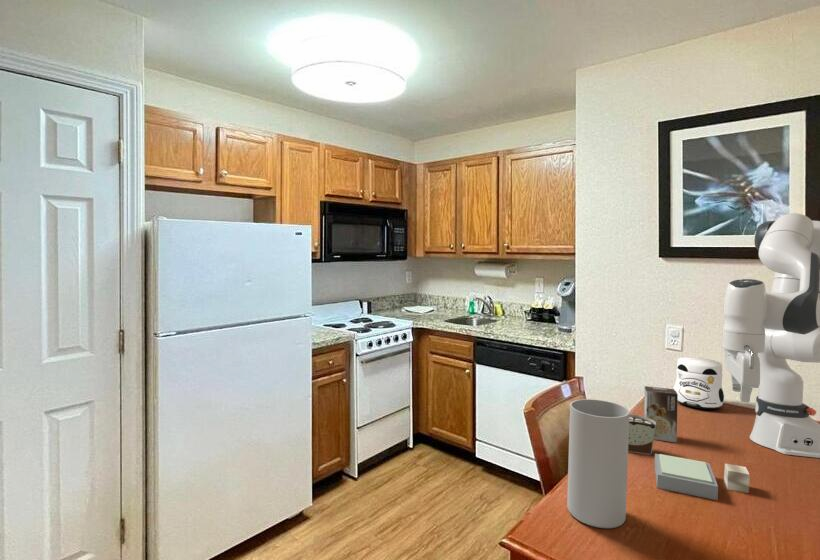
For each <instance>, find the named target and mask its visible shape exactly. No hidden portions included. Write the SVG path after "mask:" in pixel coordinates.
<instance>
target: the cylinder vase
mask: <svg viewBox="0 0 820 560" xmlns="http://www.w3.org/2000/svg"><path fill="white" fill-rule="evenodd" d="M629 414H630V410H629V409H628V408H627V407H626V406H625V405H624V406H623V405H621V404H619V403H616V402H612V401H608V400H602V399H596V398H595V399H594V398H591V399H590V398H589V399H588V398H584V399H581V398H580V399H576V400H572V401H571V402H570V404H569V430H568V431H569V433H568V462H567V463H568V464H567V465H568V467H567V468H568V469H567V500H566V501H567V503H566V506H567V509H568V511H569V513H570V514H571V516H572V517H574V518H575V519H576V520H578V521H579V522H581V523H583V524H586V525H587V526H590V527H593V528H594V527H595V528H598V529H599V528H600V529H614V528H618V527H621V526H622V525H623V524H624V523H625V521H626V517H627V490H628V489H627V487H628V466H629V465H628V463H629V452H628V439H629Z"/></svg>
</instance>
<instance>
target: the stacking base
mask: <svg viewBox="0 0 820 560" xmlns="http://www.w3.org/2000/svg"><path fill="white" fill-rule="evenodd" d="M654 473H655V482H656V488H657V489H660V490H665V491H671V492H675V493H679V494H684V495H690V496H696V497H698V498H699V497H700V498H704V499H709V500H713V501H718V495H719V485H718V483H717V479H716V478H715V475H714V472H713V470H712V467H711V464H710V463H709V462H705V461H701V460H695V459H692V458H691V459H690V458H684V457H679V456H673V455H668V454H662V453H654Z"/></svg>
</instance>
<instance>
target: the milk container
mask: <svg viewBox="0 0 820 560" xmlns="http://www.w3.org/2000/svg"><path fill="white" fill-rule="evenodd" d="M675 379H676V380H675V382H674V386H673V389H674V390H675V391H676V392H677V394H678V403H679V404H682V405H683V406H684V405H685V406H687V407H691V408H696V409H702V410H703V409H704V410H714V409H718V408H720V407H722V406H723V404H724V401H725V400H724V399H725V393H724V389H723V365H722V363H721V362H720V361H718V360H717V361H716V360H712V359H707V358H701V357H692V356H691V357H687V356H686V357H684V356H683V357H679V358H678V359H677V364H676V378H675Z"/></svg>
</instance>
